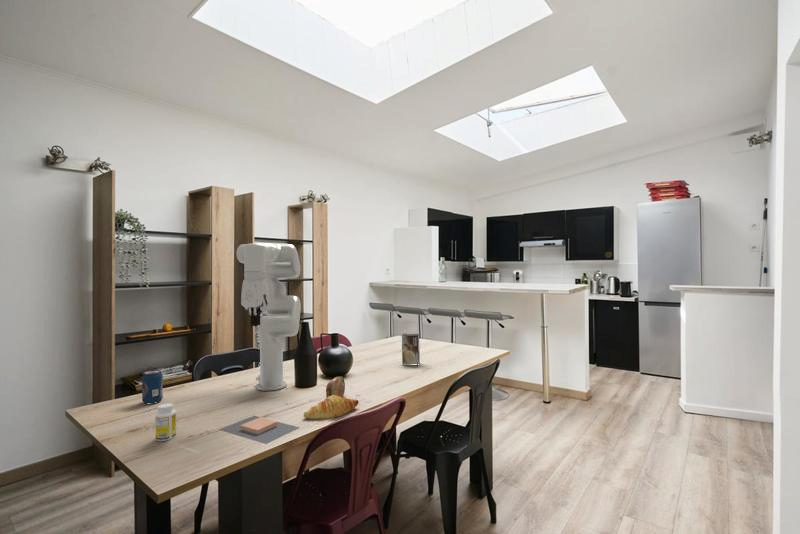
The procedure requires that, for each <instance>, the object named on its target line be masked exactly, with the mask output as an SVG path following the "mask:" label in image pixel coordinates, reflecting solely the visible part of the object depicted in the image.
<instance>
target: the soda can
mask: <svg viewBox="0 0 800 534" xmlns="http://www.w3.org/2000/svg"><path fill="white" fill-rule="evenodd" d="M163 381H164V380H163V373H162V370H161V369H152V370H147V371H143V374H142V377H141V385H142V386H141V395H142V396H141V397H142V398H141V400H142V403H146V404H145V405H148V404H147V403H155V402H159V401H160V402H161V401H162V399H163V397H164V390H163V389H164V388H163V385H164V384H163ZM160 402H159V403H160ZM155 404H156V403H155Z"/></svg>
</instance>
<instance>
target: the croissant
mask: <svg viewBox="0 0 800 534" xmlns="http://www.w3.org/2000/svg"><path fill="white" fill-rule="evenodd" d="M358 404H359V400H358V399H353V398H347V397H345V396H343V397H341V396H338V395H331V396H329V397H326V398H324V400H322V401H319V402H318V403H317V404H316V405H314V406H312V407H310V408H309V409H308V410H307V411H305V412H303V418H305V419H308V420H322V419H323V420H325V419H334V418H339V417H341V416H343V415H345V414H347V413H349V412H351V411H353V410H354V409H355V408H356V407H357V406H358Z"/></svg>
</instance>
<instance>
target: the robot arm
mask: <svg viewBox="0 0 800 534" xmlns="http://www.w3.org/2000/svg"><path fill="white" fill-rule="evenodd" d="M235 254H236V259H237V261H238V262H239V263H241V264H243V265H244V274H243V276H244V279H243V280H242V285H241V295H240V296H241V298H240V305H241V306H242V307H243V308H244V309H245V310H246V311H248V315H249V316H250V326H251V327H257V331H258V337H259V366H260V368H259V370H260V371H259V374H258V376H257V377H256V378H255V380H256V381H258V384H257V385H256V389H257V390H258V391H262V392H263V391H264V392H270V391H272V392H273V391H278V390H282V389H284V388H286V387H287V385H288V384H287V381H284V372H283V371H284V369H283V368H284V367H283V366H284V365H283V364H284V363H283V361H284V358H283V355H284V354H283V351H284V348H283V344H282V342H281V341H280V339H278V338H281V337H282V338H283V337H295V336H297V335H298V332H299V328H300V318H301V312H302V311H301V309H302V304H301V300H300V298H299V296H296V295H287V288H286V286H285V285H284V284H283V282H281V281H280V280H279V279H297V278H299V277H300V274H301V264H300V258H299V254H298V250H297V248H296V246H294V245H293V244H290V243H287V244H286V243H279V244H278V243H255V242H254V243H252V242H251V243H247V244H246V243H242V244H240V245H239V246H237V249H236V253H235ZM263 311H264V313H265V314H266V315H264V316H261V315H262V312H263Z"/></svg>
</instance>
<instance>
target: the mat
mask: <svg viewBox="0 0 800 534" xmlns="http://www.w3.org/2000/svg"><path fill="white" fill-rule="evenodd" d="M260 417H261V416H258V415H252V416H250V417H247V418H244V419H242V420H239V421H237V422H235V423H232V424H229V425H227V426H225V427H221V428H219V431H223V432H226V433H229V434H232V435H235V436H239V437H243V438H245V439H249V440H252V441H255V442H259V443H261V444H265V445H267V444H269V443H271V442H273V441H276V440H278V439H279V438H282V437H283V436H286V435H287V434H290V433H292V432H294V431H296V430H298V429H301V428H300V427H299V426H296V425H292V424H288V423H284V422H280V421H277V426H276V427H274V428H272V429H270V430H268V431H265V432H263V433H261V434H259V435H256V434H253V433H250V432H246V431H243V430H241V425H243V424H245V423H247V422H250V421H252V420H255V419H257V418H260Z"/></svg>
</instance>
